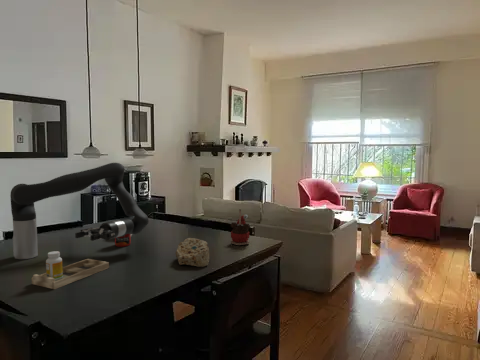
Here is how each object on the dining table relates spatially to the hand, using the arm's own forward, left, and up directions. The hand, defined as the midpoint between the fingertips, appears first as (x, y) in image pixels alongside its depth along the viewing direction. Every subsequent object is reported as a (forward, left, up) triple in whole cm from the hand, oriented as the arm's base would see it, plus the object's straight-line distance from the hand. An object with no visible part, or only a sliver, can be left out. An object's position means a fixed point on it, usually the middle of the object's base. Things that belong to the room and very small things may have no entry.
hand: (83, 236), depth 153 cm
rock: (+32, +30, -14) cm, 47 cm away
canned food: (-14, +37, -14) cm, 42 cm away
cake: (+39, +65, -14) cm, 77 cm away
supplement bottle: (+1, -15, -13) cm, 19 cm away
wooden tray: (+1, -7, -14) cm, 15 cm away
